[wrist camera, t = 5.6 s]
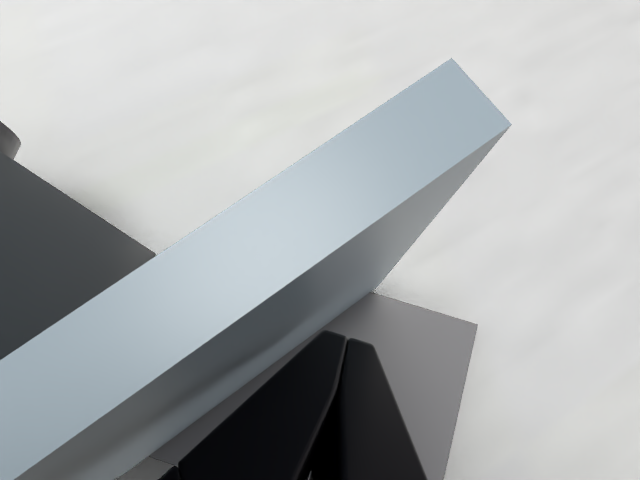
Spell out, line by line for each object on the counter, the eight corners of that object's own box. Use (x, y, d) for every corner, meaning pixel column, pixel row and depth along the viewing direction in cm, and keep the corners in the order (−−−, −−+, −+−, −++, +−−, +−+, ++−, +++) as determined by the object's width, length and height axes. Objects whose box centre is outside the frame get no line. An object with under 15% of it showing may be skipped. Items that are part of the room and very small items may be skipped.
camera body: (424, 545, 12) (885, 1333, 2) (-181, 342, 13) (-1609, 291, 3) (478, 304, 14) (897, 162, 4) (-71, 140, 15) (-842, -298, 5)
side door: (377, 286, 13) (511, 124, 4) (101, 490, 12) (-596, 914, 3) (351, 252, 13) (423, 26, 4) (77, 449, 12) (-639, 715, 3)
